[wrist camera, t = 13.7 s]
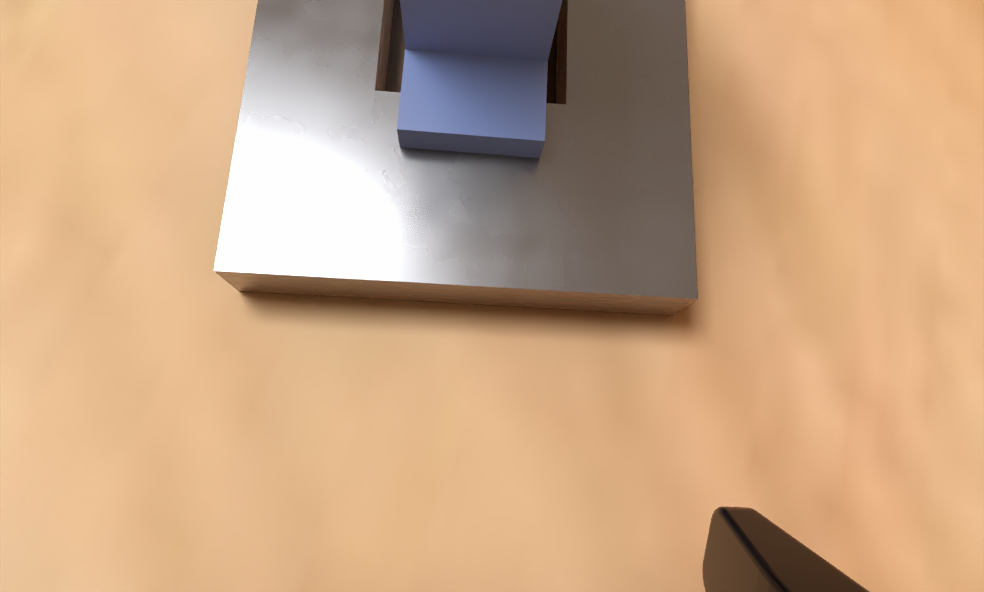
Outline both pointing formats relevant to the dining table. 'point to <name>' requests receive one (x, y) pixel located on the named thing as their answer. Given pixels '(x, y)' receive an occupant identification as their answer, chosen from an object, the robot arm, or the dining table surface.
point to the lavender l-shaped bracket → (476, 75)
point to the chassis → (464, 171)
